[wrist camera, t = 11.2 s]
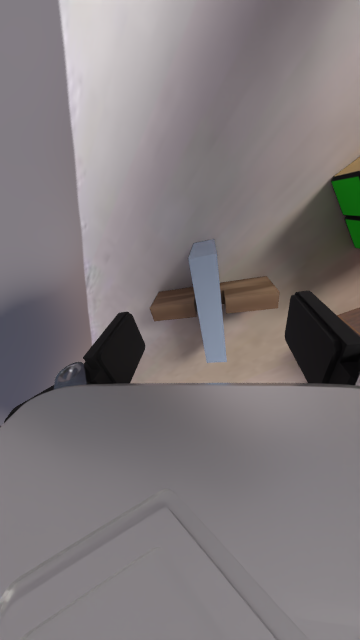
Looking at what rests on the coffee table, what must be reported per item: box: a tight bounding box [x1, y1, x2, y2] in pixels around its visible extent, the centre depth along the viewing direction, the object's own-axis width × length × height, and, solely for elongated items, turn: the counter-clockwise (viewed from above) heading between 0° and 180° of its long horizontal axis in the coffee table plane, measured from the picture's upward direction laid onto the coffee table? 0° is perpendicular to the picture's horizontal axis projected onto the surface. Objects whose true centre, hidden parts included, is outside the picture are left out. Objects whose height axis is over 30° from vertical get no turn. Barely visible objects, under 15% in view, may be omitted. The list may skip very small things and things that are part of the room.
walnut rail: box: [150, 276, 280, 321], centre depth 27 cm, size 2×18×6 cm, turn 102°
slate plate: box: [188, 239, 227, 363], centre depth 26 cm, size 16×3×9 cm, turn 12°
